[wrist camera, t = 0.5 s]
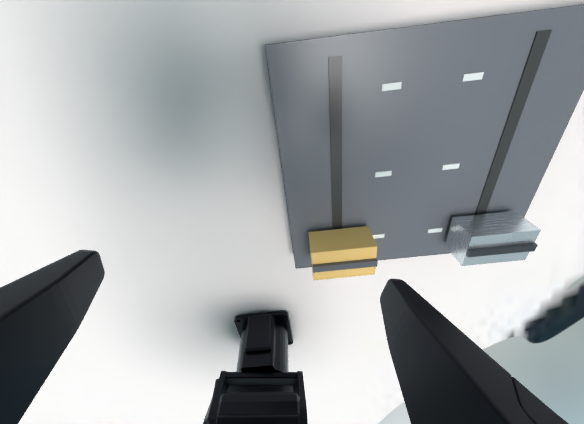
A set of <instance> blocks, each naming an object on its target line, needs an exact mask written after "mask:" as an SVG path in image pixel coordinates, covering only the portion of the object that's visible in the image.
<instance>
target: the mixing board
mask: <svg viewBox="0 0 584 424" xmlns="http://www.w3.org/2000/svg"><path fill="white" fill-rule="evenodd" d="M265 48H266V55H267V63H268V70H269V77H270V85H271V92H272V99H273V106H274V114H275V121H276V128H277V136H278V143H279V150H280V158H281V165H282V172H283V179H284V187H285V194H286V201H287V209H288V216H289V223H290V230H291V238H292V245H293V252H294V260H295V267H296V268H305V267H312V264H311V255H310V244H309V233H308V232H314V231H324V230H334V229H344V228H353V227H363V226H368V227H369V229H370V232H371V234H372V236H373V238H374V240H375V242H376V244H377V256H376V259H377V260H386V259H396V258H407V257H417V256H427V255H437V254H447V253H451V252H450V251H449V249H448V248H447V247H446V246H445V243H446V239H447V236H448V232H449V229H450V225H451V222H452V218H453V217H460V216H470V215H479V214H489V213H499V212H508V211H515V212H517V213H518V214H519V215H521V216H522V217H524V216H525V214H526V212H527V210H528V208H529V206H530V204H531V202H532V199H533V197H534V195H535V193H536V191H537V189H538V187H539V184H540V182H541V180H542V178H543V176H544V174H545V172H546V169H547V167H548V165H549V163H550V161H551V159H552V157H553V154H554V152H555V150H556V148H557V146H558V144H559V142H560V139H561V137H562V135H563V133H564V131H565V129H566V127H567V124H568V122H569V120H570V118H571V116H572V114H573V112H574V109H575V107H576V105H577V103H578V101H579V99H580V97H581V94H582V92H583V90H584V4H583V5H575V6H567V7H560V8H552V9H544V10H536V11H528V12H520V13H512V14H504V15H497V16H489V17H481V18H473V19H465V20H457V21H449V22H441V23H434V24H426V25H418V26H410V27H402V28H394V29H386V30H378V31H371V32H363V33H355V34H347V35H339V36H331V37H323V38H315V39H308V40H300V41H292V42H284V43H276V44H268V45H265Z"/></svg>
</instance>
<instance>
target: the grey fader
mask: <svg viewBox="0 0 584 424" xmlns="http://www.w3.org/2000/svg"><path fill="white" fill-rule="evenodd" d="M540 231H541V230H540V229H539V228H537V227H536V226H535V225H533V224H532V223H530V222H529V221H528V220H526V219H525V218H524V217H522V216H521V215H519V214H518V213H517V212H515V211H508V212H499V213H489V214H479V215H470V216H460V217H453V218H452V222H451V225H450V229H449V232H448V236H447V239H446V243H445V246H446V247H447V248H448V249H449V251H450V252H451V253H452V254H453V256H454V257H455V258H456V259H457V261H458V262H459V263H460V264H461V265H462V266H465V265H476V264H486V263H496V262H507V261H517V260H525V259H526V257H527V255H528V253H529V251H534V250H535V249H536V247H537V244H536V243H534V242H535V240H536V238H537V236H538V234H539V232H540Z"/></svg>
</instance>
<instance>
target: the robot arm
mask: <svg viewBox="0 0 584 424" xmlns="http://www.w3.org/2000/svg"><path fill="white" fill-rule="evenodd" d="M103 278H104V268H103V265H102V261H101V258H100V255H99V253H98V252H97V251H92V250H79V251H77V252H75V253H73V254H71V255H68V256H66V257H64V258H62V259H60V260H58V261H56V262H54V263H52V264H49V265H47V266H45V267H43V268H41V269H39V270H37V271H35V272H33V273H30V274H28V275H26V276H24V277H22V278H20V279H18V280H16V281H13V282H11V283H9V284H7V285H5V286H3V287H1V288H0V424H18V423H19V421H20V419H21V418H22V416H23V415H24V413H25V412H26V410H27V408H28V407H29V405H30V404H31V402H32V401H33V399H34V397H35V396H36V394H37V393H38V391H39V390H40V388H41V386H42V385H43V383H44V382H45V380H46V379H47V377H48V375H49V374H50V372H51V371H52V369H53V368H54V366H55V364H56V363H57V361H58V360H59V358H60V357H61V355H62V353H63V352H64V350H65V349H66V347H67V346H68V344H69V342H70V341H71V339H72V338H73V336H74V334H75V333H76V331H77V329H78V328H79V326H80V324H81V322H82V320H83V318H84V316H85V314H86V312H87V310H88V308H89V306H90V304H91V302H92V300H93V298H94V296H95V294H96V292H97V290H98V288H99V286H100V284H101V282H102V280H103ZM380 303H381V309H382V314H383V319H384V325H385V330H386V335H387V341H388V345H389V349H390V353H391V357H392V360H393V363H394V367H395V370H396V374H397V377H398V380H399V384H400V387H401V391H402V394H403V398H404V401H405V404H406V408H407V411H408V415H409V418H410V421H411V424H568V423H567V422H566V421H564V420H563V419H562V418H561V417H560V416H558V415H557V414H556V413H555V412H553V411H552V410H551V409H550V408H549V407H548V406H546V405H545V404H544V403H543V402H542V401H541V400H539V399H538V398H537V397H536V396H535V395H533V394H532V393H531V392H530V391H529V390H528V389H527V388H525V387H524V386H523V385H522V384H521V383H519V381H517V380H516V379H515V378H514V377H511V375H510V374H509V373H508V372H507V371H506V370H505V369H504V368H502V367H501V366H500V365H499V364H498V363H497V362H495V360H493V359H492V358H491V357H490V356H489V355H488V354H486V353H485V352H484V351H483V350H482V349H481V348H480V347H479V346H477V345H476V344H475V343H474V342H473V341H472V340H471V339H469V338H468V337H467V336H466V335H465V334H464V333H463V332H461V331H460V330H459V329H458V328H457V327H456V326H455V325H453V324H452V323H451V322H450V321H449V320H448V319H447V318H445V317H444V316H443V315H442V314H441V313H440V312H439V311H437V310H436V309H435V308H434V307H433V306H432V305H431V304H429V303H428V302H427V301H426V300H425V299H424V298H423V297H421V296H420V295H419V294H418V293H417V292H416V291H415V290H413V289H412V288H411V287H410V286H409V285H408V284H407V283H405V282H404V281H403V280H400V279H390V280H388V282H387V284H386V286H385V288H384V290H383V292H382V294H381V297H380ZM234 322H235V324H236V327H237V329H238V332H239V335H240V337H241V343H240V350H239V357H238V364H237V371H236V372H227V371H221V374H220V378H219V379H217V380H216V383H215V388H214V393H213V397H212V400H211V403H210V406H209V408H208V411H207V414H206V416H205V419H204V423H203V424H307V409H306V400H305V391H304V382H303V373H302V371H297V372H288V345H290V344H292V343H293V337H292V332H291V326H290V321H289V315H288V313H287V312H285V311H283V312H272V313H261V314H250V315H240V316H236V317H235V320H234Z"/></svg>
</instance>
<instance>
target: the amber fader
mask: <svg viewBox="0 0 584 424" xmlns="http://www.w3.org/2000/svg"><path fill="white" fill-rule="evenodd" d="M308 233H309V244H310V255H311V264H312V272H313V279H314V280H321V279H332V278H342V277H352V276H362V275H373V274H375V267H376V266H377V259H376V256H377V244H376V242H375V240H374V238H373V236H372V234H371V232H370V229H369V227H368V226H363V227H353V228H344V229H334V230H324V231H314V232H308Z"/></svg>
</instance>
